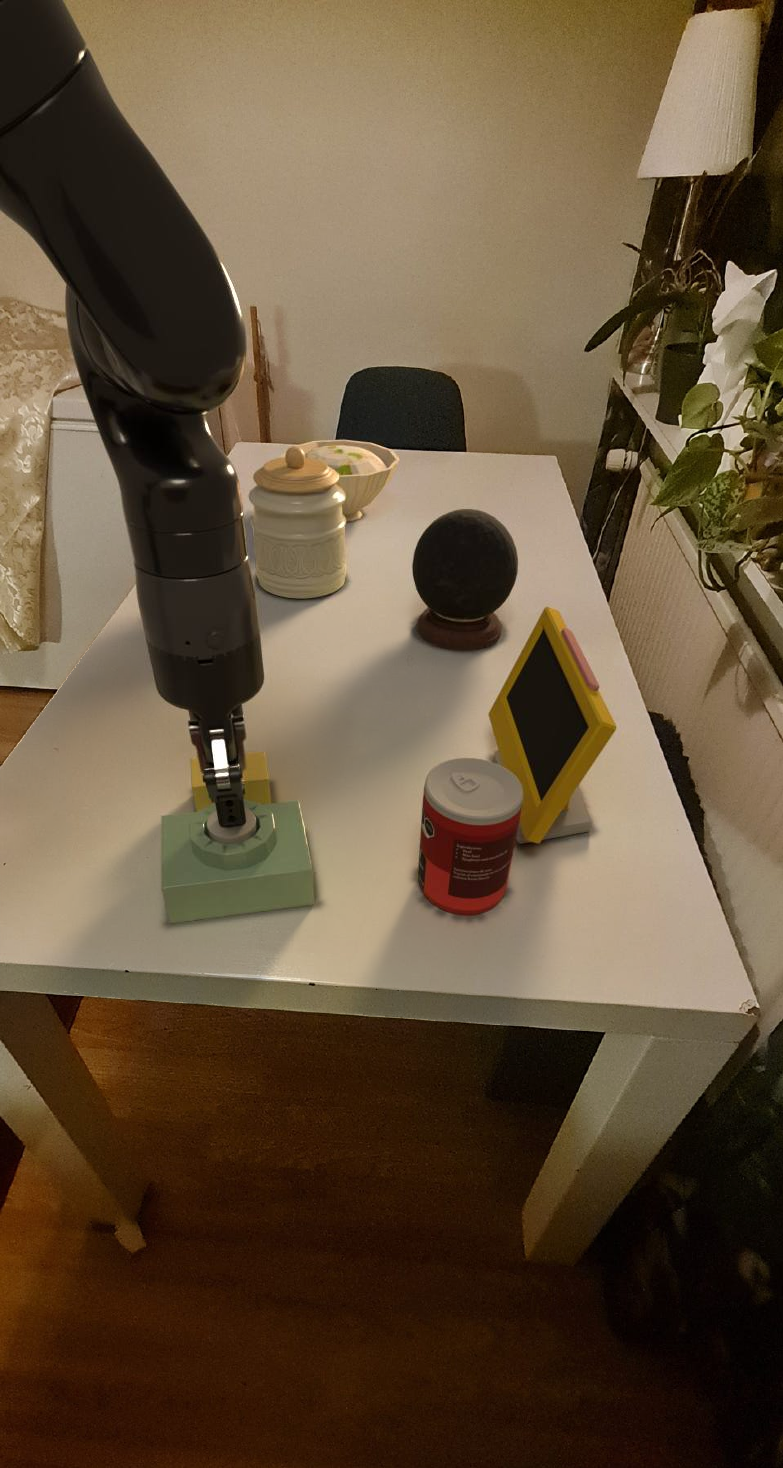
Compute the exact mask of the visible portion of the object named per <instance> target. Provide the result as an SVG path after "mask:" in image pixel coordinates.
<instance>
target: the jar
mask: <svg viewBox="0 0 783 1468" xmlns="http://www.w3.org/2000/svg"><path fill="white" fill-rule="evenodd" d="M293 446H294V447H292V446H290V447H288V448H287V450H286V451H287V452H286V455H285V457H283V458H282V457H278V458H274V459H273V458H272V459H271V460H269V461H267V462H265V463H264V464H263V466H261V467H260V468H258V469H257V470H256V471H255V472H254V473H253V476H252V479H253V482H254V483H255V484H256V485H255V486H253V487H252V489H250V490H249V493H248V501H249V502H250V503H251V504H252V505H253V515H252V516H251V519H250V524H251V527H252V532H253V533H252V534H253V542H254V543H253V544H254V553H255V555H254V556H255V564H254V567H255V575H256V577H257V580H258V585H259V586H260V587H261V588H262V589H263V590H265V591H266V592H268V593H269V594H272V595H275V596H277V597H278V596H279V597H283V598H287V599H288V598H289V599H314V598H321V597H324V596H328V595H330V594H332V593H334V592H336V591H338V590H339V589H340V588H342V587H343V586H344V584H345V582H346V575H347V565H348V564H347V561H346V525H347V522H346V519H345V517H344V515H343V514H342V504H343V502H344V501H345V498H346V495H345V492H344V491H343V489H342V488H340V487H339V486H338V485H337V484H336V483H337V482H338V481H339V475H338V473H337V472H336V471H335V470H334V469H332V468H330V467H328V465H327V464H326V463H325V462H323V461H321V460H318V459H314V458H308V457H305V454H304V452H303V450H302V449H301V448H299V447H296V445H293Z"/></svg>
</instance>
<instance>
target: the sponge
mask: <svg viewBox="0 0 783 1468" xmlns="http://www.w3.org/2000/svg"><path fill="white" fill-rule="evenodd" d="M245 758H246V766H247V767H246V769H245V770H244V771H243V774H242V776H243V778H242V780H244V785H245V787H243V788H245V795H244V800H248V801H253V802H257V803H260V804H261V805H264V804H272V797H271V788H270V778H269V773H268V766H267V759H266V752H265V751H264V750H263V751H255V752H254V751H253V752H245ZM202 775H204V774H202V773H201V771H200V766H199V760H198V757H194V758H193V757H192V758H190V778H191V791H192V796H193V800H194V801H193V802H194V806H195V812H199V810H201V809H203V808H205V807H207V806H209V805H211V804H213V803H212V802H211V799H210V798H209V795H208V791H207V788H206V784H205V782H204V783H203V778H202ZM214 803H215V802H214Z"/></svg>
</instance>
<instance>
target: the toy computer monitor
mask: <svg viewBox="0 0 783 1468" xmlns="http://www.w3.org/2000/svg"><path fill="white" fill-rule="evenodd" d="M586 658H587V657H586V656H585V654H584V652H583V650H582V648H581V646H580V644H579V642H578V641H577V639H576V637H575V634H574V633H573V631H572V630H571V629H569V628H568V627H567V624H566V622H565V620H564V619H563V617H562V615H561V612H560V610H558V609H555V608H552V607H551V606H545V607H544V608H543V610H542V612H541V614H540V615H539V618H538V620H537V621H536V623H535V624H534V627H533V629H532V631H531V633H530V634H529V637H528V638H527V640H526V641H525V644H524V646H523V647H522V649H521V652H520V653H519V655H518V657H517V659H516V660H515V662H514V665H513V667H512V668H511V670H510V671H509V674H508V676H507V678H506V680H505V681H504V683H503V685H502V687H501V689H500V691H499V693H498V695H497V697H496V698H495V701H494V702H493V704H492V706H491V708H490V710H489V712H488V714H487V716H488V718H489V722H490V725H491V728H492V732H493V736H494V738H495V741H496V745H497V749H498V750H495V751H494V752H493V761H494V763H496V764H498V765H501V766H502V767H504V768H506V769H508V770H509V771H510V772H511V773H513V774H514V775H515V776H516V778H517V779H518V780H519V782H520V783H521V785H522V789H523V803H522V809H521V815H520V821H519V826H518V831H517V836H516V843H517V844H518V845H522V844H527V843H534V844H538V845H539V844H541V842H542V841H544V840H549V839H556V838H561V837H567V836H571V835H577V834H582V833H587V832H590V831H592V827H593V823H594V822H593V821H592V818H591V815H590V813H589V810H588V809H587V806H586V803H585V800H584V799H583V795H582V793H581V791H580V788H579V786H580V784H581V783H582V781H583V779H584V778H585V777H586V775H587V774H588V772H589V771H590V770H591V767H592V766H593V765H594V763H595V762H596V760H597V759H598V757H599V756H600V755H601V753H602V751H603V750H604V748H605V747H606V746H607V744H608V743H609V741H610V739H611V738H612V736H613V735H614V733H615V732H616V730H617V727H618V726H617V724H616V722H615V721H614V719H613V717H612V715H611V712H610V711H609V708H608V707H607V704H606V702H605V701H604V698H603V696H602V694H601V692H600V690H599V689H600V684H599V682H598V680H597V678H596V676H595V674H594V672H593V670H592V668H591V666H590V664H589V662H588V660H587V659H586Z"/></svg>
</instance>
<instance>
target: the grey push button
mask: <svg viewBox="0 0 783 1468" xmlns="http://www.w3.org/2000/svg"><path fill="white" fill-rule="evenodd" d="M245 815H246V823H245V824H244V825H242V826H234V827H225V828H223V827H221V826H220V825H219V822H218V816H217V811H215V812H213V813H212V814H211V815H210V816H209V818H208V820H207V829H208V835H209V838H210V839H211V840H212V841H214V842H218V843H222V844H226V845H228V844H236V843H242V842H244V841H246V840H248V839H250V838H252V837H254V836H255V834H256V833H257V824H256V817H255V815H254V814H253V813H252V812H251V811H250V810H248V809H246V808H245Z"/></svg>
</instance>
